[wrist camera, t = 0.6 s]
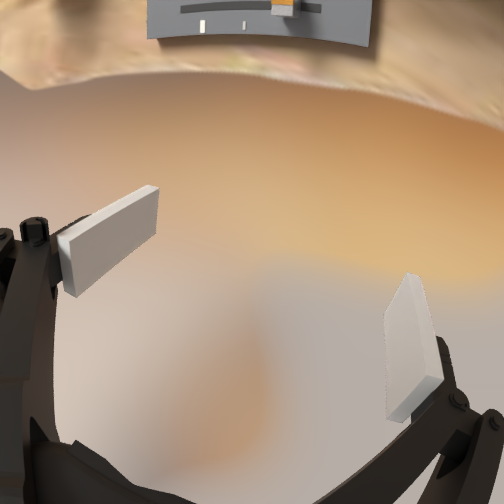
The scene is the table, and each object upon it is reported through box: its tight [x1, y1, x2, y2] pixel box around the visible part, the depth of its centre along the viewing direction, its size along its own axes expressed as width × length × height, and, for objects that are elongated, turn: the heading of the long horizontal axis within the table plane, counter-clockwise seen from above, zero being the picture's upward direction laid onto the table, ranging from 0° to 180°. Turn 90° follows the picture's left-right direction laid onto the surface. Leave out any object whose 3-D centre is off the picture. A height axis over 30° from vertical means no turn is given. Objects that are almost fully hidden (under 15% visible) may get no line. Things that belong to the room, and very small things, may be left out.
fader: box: [271, 0, 301, 19], centre depth 23 cm, size 2×3×3 cm, turn 177°
